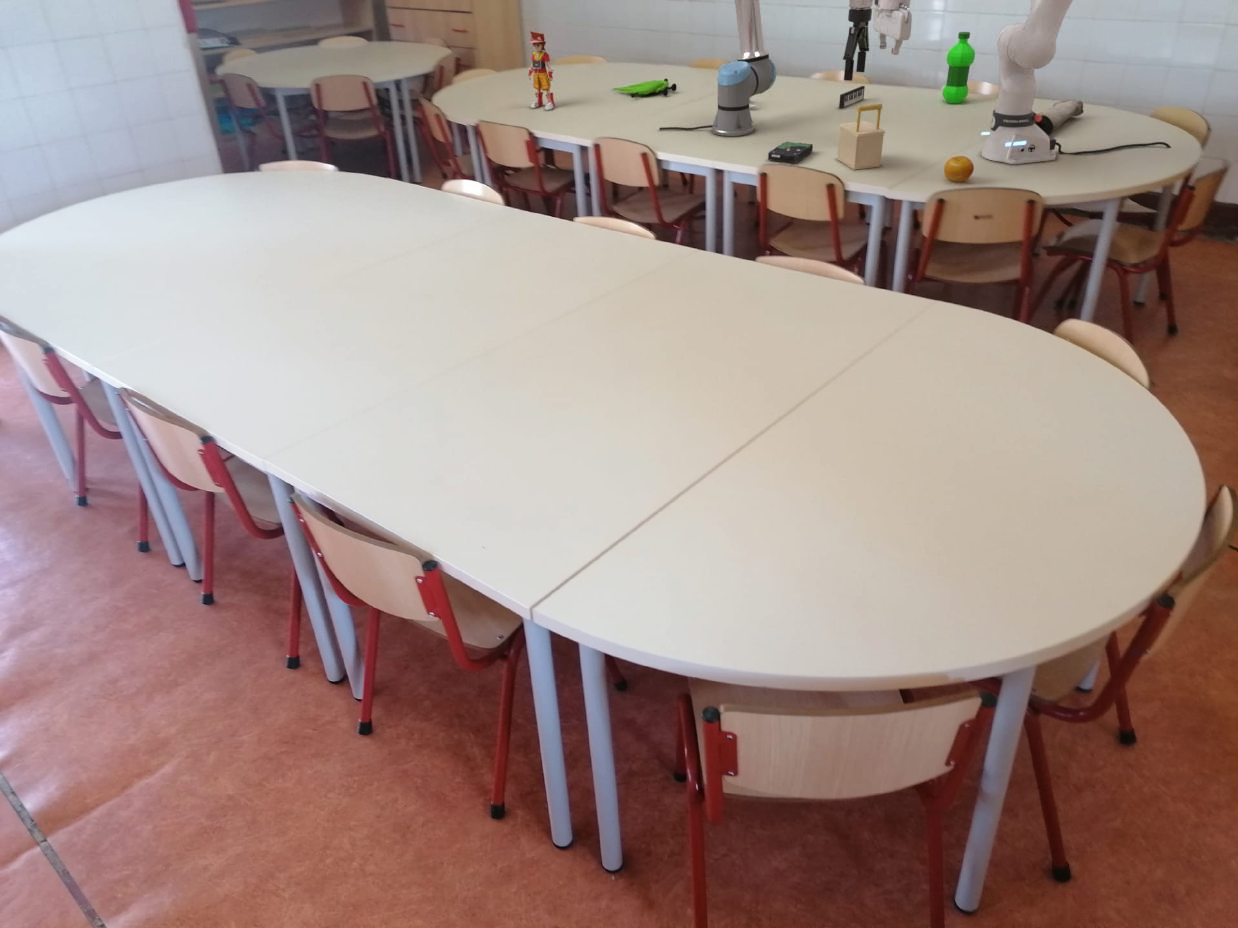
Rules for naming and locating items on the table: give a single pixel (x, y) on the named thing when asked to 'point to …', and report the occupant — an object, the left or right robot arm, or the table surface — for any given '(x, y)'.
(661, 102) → the table surface
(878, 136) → the chest
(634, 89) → the toy
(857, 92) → the midi keyboard
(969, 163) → the fruit
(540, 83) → the toy
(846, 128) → the lid
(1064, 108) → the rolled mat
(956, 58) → the plastic bottle
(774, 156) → the disk drive
